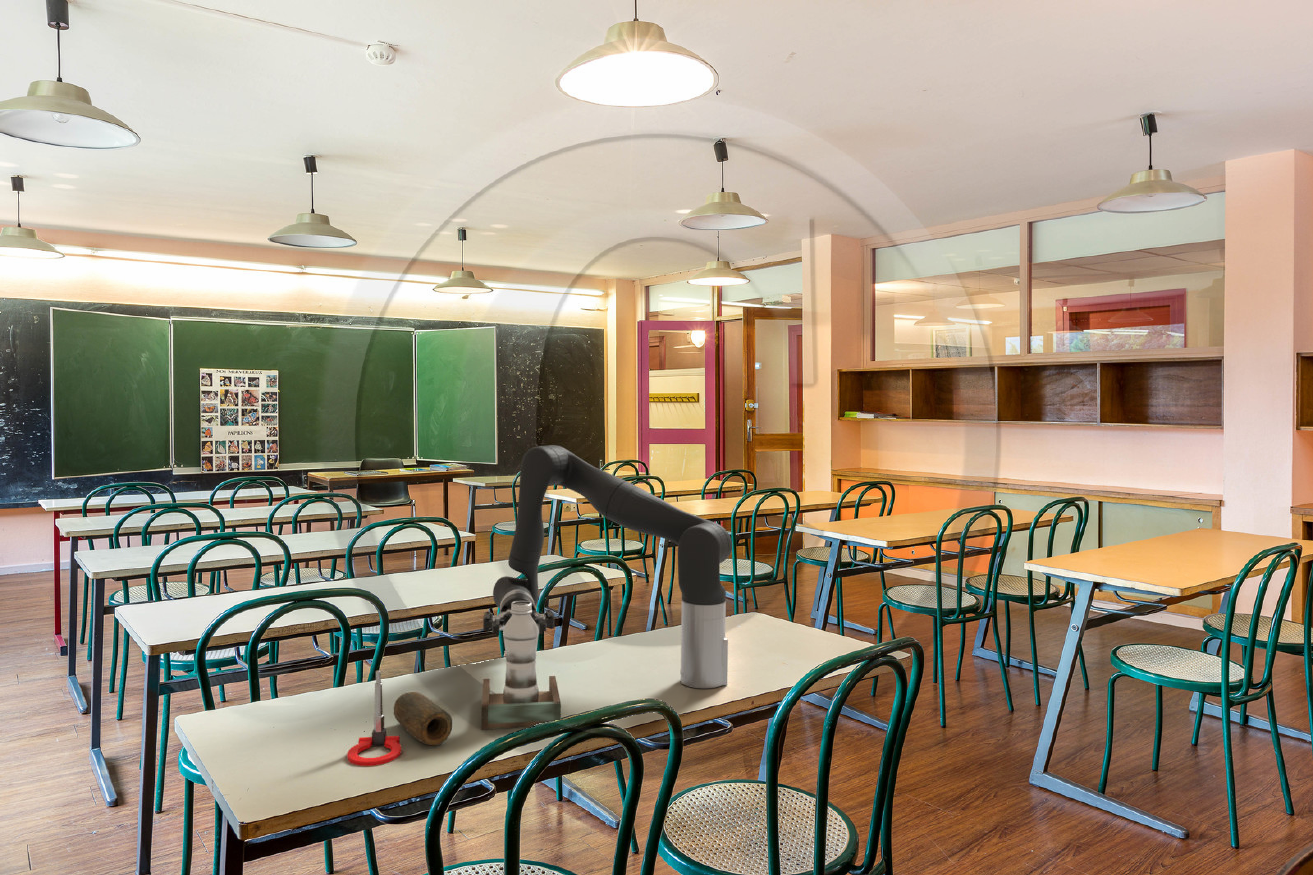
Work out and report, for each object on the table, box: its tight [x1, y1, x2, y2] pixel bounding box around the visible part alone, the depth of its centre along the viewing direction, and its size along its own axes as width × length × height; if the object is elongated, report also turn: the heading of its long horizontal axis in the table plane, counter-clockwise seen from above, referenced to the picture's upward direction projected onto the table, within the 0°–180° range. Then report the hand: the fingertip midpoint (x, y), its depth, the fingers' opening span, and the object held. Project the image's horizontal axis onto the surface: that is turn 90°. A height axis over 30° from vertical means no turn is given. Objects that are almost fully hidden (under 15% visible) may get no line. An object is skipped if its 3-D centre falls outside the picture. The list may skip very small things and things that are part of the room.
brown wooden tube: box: [393, 691, 453, 746], centre depth 149 cm, size 15×7×7 cm, turn 39°
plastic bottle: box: [502, 601, 540, 704], centre depth 159 cm, size 6×7×20 cm
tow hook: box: [346, 670, 402, 767], centre depth 141 cm, size 8×13×9 cm
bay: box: [480, 675, 562, 731], centre depth 161 cm, size 14×16×4 cm
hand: (519, 629), depth 168 cm, fingers open, 8 cm apart
